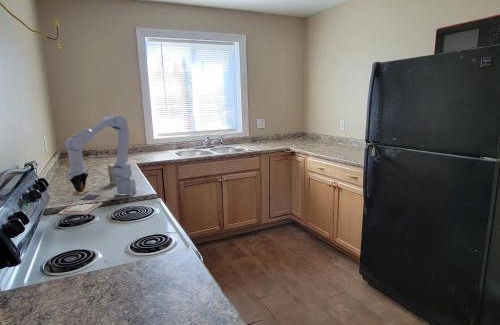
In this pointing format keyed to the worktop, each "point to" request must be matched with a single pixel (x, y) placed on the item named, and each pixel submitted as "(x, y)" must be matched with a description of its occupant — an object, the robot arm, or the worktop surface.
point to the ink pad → (90, 197)
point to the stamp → (81, 192)
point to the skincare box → (111, 176)
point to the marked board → (80, 209)
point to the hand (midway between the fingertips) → (80, 189)
